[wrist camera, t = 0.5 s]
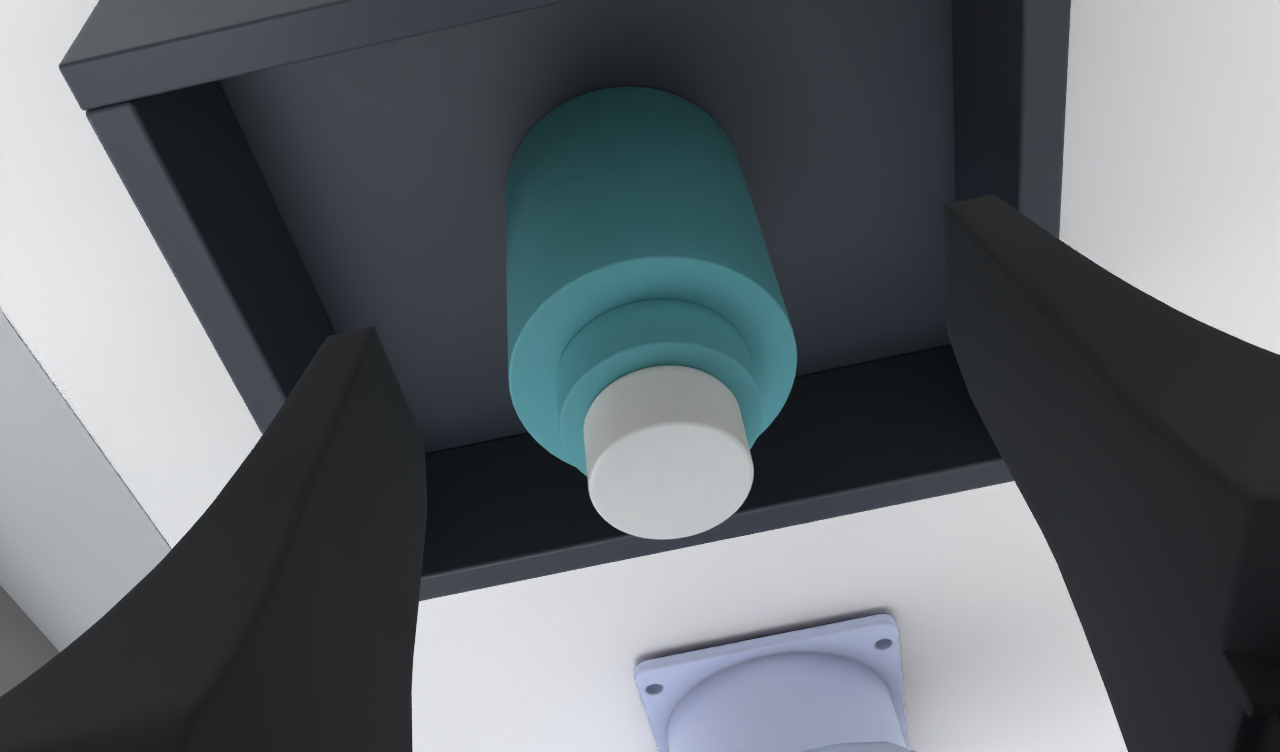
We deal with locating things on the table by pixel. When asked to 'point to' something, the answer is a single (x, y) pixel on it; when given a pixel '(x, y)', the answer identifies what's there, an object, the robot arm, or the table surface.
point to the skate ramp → (57, 521)
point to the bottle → (643, 308)
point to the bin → (476, 234)
